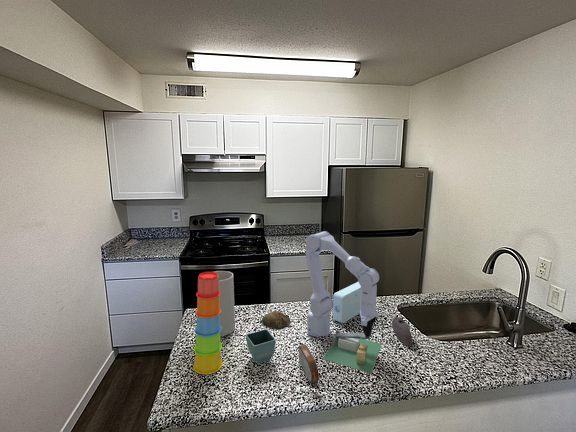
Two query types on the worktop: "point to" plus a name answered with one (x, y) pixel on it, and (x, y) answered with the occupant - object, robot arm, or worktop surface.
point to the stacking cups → (208, 325)
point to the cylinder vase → (226, 302)
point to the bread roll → (276, 320)
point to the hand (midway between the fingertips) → (367, 334)
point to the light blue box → (347, 303)
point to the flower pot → (261, 345)
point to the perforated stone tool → (402, 331)
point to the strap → (351, 335)
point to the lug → (362, 355)
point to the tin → (308, 363)
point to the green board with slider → (352, 352)
